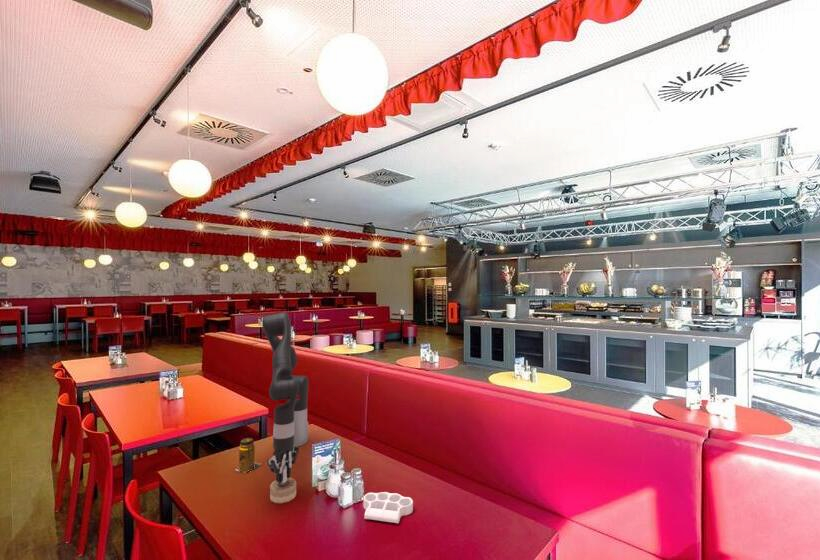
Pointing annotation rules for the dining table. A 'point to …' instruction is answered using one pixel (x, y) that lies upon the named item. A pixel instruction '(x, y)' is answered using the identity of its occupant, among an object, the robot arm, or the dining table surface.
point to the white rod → (284, 476)
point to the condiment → (247, 455)
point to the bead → (283, 491)
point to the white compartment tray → (386, 506)
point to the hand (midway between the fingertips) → (283, 479)
